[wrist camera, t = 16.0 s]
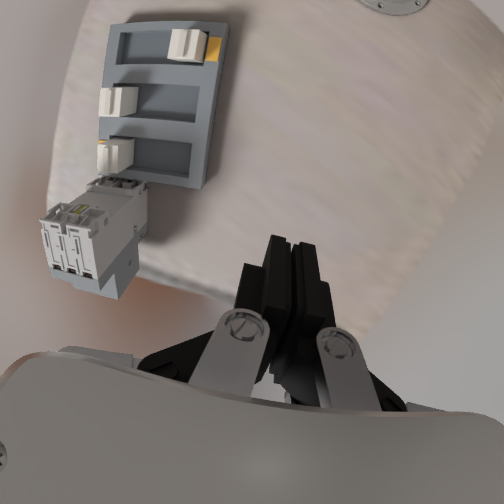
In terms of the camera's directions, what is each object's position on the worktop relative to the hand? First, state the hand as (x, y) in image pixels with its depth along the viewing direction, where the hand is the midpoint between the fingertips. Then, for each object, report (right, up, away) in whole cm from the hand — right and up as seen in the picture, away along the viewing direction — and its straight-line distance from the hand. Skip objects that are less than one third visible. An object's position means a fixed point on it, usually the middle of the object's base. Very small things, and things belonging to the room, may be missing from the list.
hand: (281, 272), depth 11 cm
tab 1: (-17, +20, +21) cm, 33 cm away
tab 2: (-18, +14, +24) cm, 33 cm away
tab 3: (-8, +24, +17) cm, 31 cm away
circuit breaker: (-20, +6, +32) cm, 38 cm away
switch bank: (-13, +20, +22) cm, 32 cm away
